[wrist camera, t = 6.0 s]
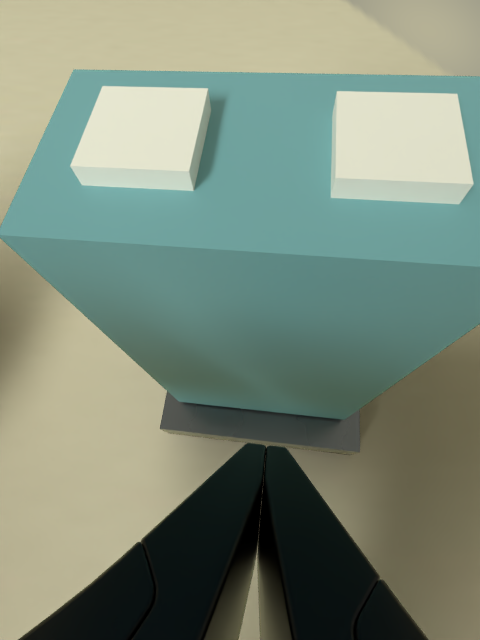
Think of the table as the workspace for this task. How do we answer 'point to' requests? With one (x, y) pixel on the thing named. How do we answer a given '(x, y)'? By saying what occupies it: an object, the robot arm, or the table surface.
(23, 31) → the table surface
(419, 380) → the table surface
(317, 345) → the key two
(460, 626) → the table surface
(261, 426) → the key two base
